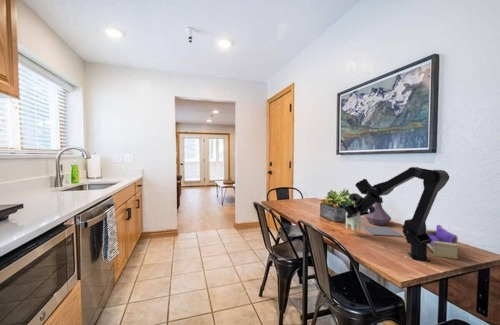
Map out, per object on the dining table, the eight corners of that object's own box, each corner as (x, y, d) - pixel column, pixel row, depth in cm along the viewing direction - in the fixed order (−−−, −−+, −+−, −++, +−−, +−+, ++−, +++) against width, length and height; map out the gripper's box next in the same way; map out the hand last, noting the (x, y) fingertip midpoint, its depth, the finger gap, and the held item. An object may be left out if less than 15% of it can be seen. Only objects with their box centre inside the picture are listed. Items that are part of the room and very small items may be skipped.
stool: (360, 229, 127) (360, 213, 126) (353, 231, 124) (353, 214, 124) (352, 227, 131) (352, 211, 131) (345, 228, 129) (345, 211, 129)
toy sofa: (418, 241, 118) (419, 221, 118) (439, 243, 114) (439, 223, 114) (433, 256, 98) (434, 233, 98) (459, 260, 95) (459, 236, 95)
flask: (370, 218, 161) (370, 191, 161) (396, 223, 149) (396, 193, 148) (359, 222, 151) (359, 193, 151) (386, 228, 138) (386, 196, 138)
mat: (403, 236, 123) (403, 235, 123) (373, 235, 125) (373, 234, 125) (389, 228, 139) (389, 227, 139) (362, 226, 141) (362, 225, 141)
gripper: (370, 188, 128) (354, 204, 138) (347, 190, 120) (331, 206, 130) (383, 204, 121) (365, 219, 131) (359, 207, 113) (342, 223, 123)
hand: (350, 217), depth 129 cm, fingers closed on stool, 5 cm apart
